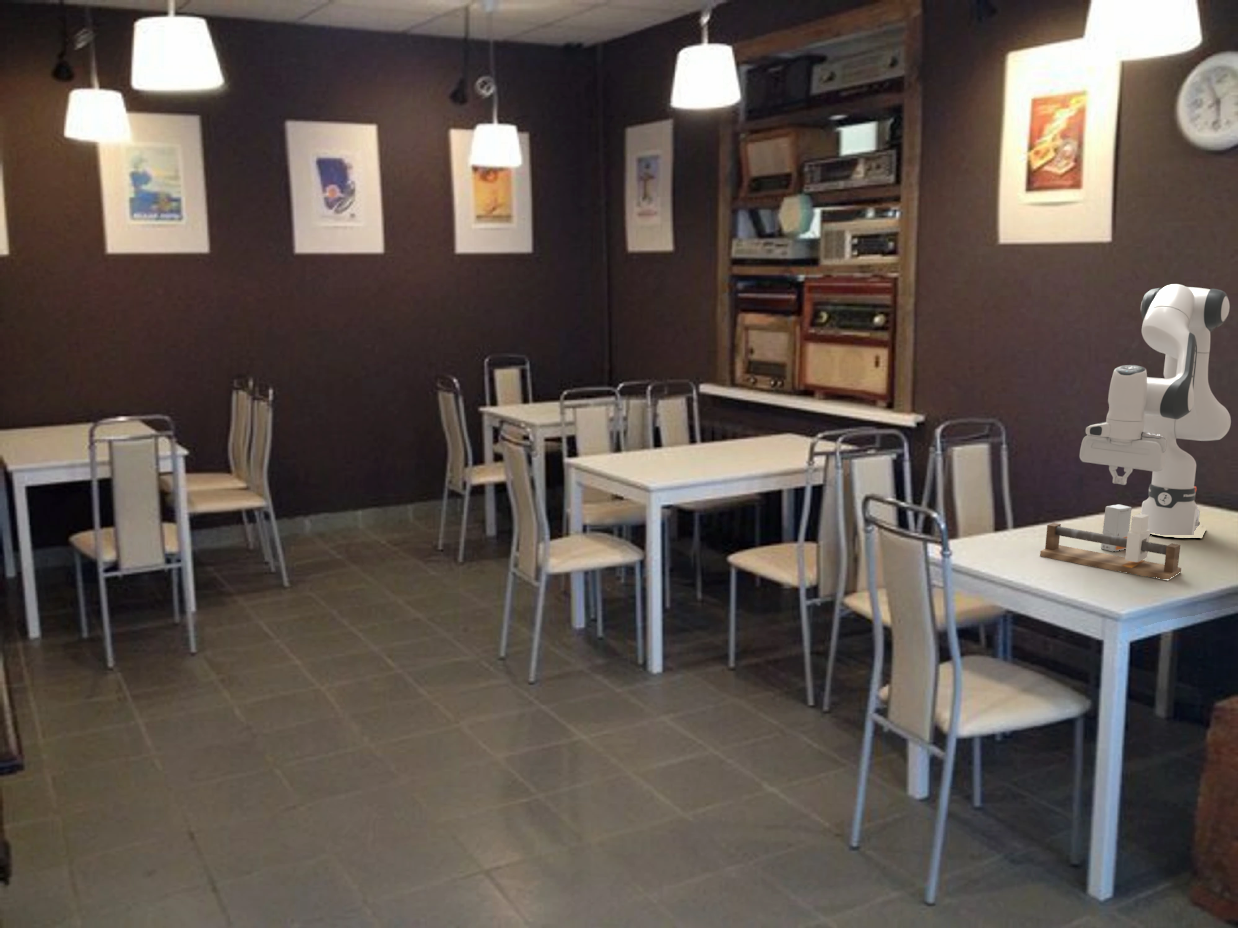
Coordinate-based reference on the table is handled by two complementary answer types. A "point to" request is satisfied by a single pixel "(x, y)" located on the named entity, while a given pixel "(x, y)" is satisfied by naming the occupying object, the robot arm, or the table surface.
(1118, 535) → the skincare box
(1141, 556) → the collar
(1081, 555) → the pipe stand
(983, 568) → the table surface
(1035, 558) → the table surface
